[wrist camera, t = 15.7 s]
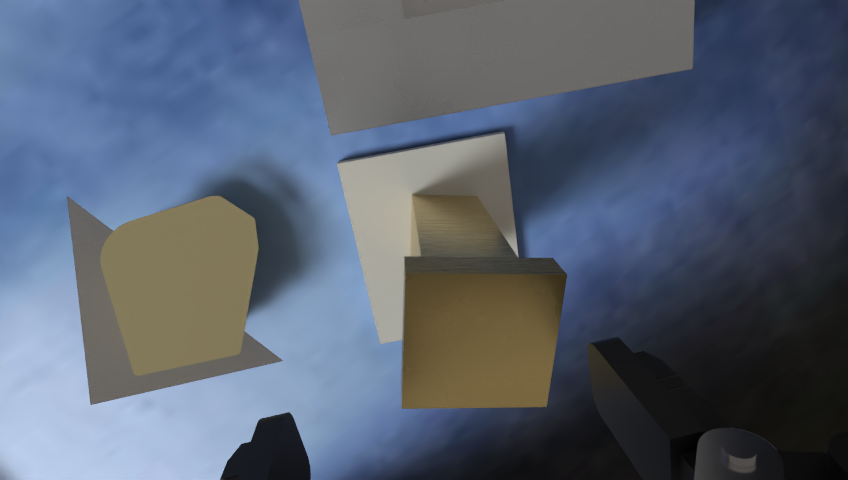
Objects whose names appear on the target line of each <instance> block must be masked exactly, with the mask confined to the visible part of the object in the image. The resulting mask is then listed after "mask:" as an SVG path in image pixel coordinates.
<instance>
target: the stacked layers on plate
mask: <svg viewBox="0 0 848 480" xmlns="http://www.w3.org/2000/svg"><path fill="white" fill-rule="evenodd" d="M67 200H68V209H69V218H70V227H71V235H72V244H73V253H74V262H75V271H76V279H77V288H78V297H79V306H80V315H81V324H82V332H83V341H84V350H85V359H86V368H87V377H88V385H89V394H90V403H91V405H92V404H97V403H101V402H105V401H110V400H114V399H118V398H123V397H127V396H131V395H136V394H140V393H145V392H149V391H153V390H158V389H162V388H166V387H171V386H175V385H180V384H184V383H188V382H193V381H197V380H201V379H206V378H210V377H214V376H219V375H223V374H228V373H232V372H236V371H241V370H245V369H249V368H254V367H258V366H263V365H267V364H271V363H276V362H280V361H283V360H281V359H280V358H279V357H277V356H276V355H275V354H274V353H272V352H271V351H270V350H268V349H267V348H266V347H264V346H263V345H262V344H260V343H259V342H258V341H256V340H255V339H254V338H253V337H251V336H250V335H249V334H247V333H246V332H245V331H244V330H245V324H246V318H247V313H248V307H249V301H250V296H251V290H252V284H253V279H254V273H255V267H256V262H257V256H258V250H259V246H258V239H257V231H256V223H255V219H254V217H252V216H251V215H249V214H247V213H246V212H244V211H243V210H241V209H240V208H238V207H237V206H235V205H233V204H232V203H230V202H229V201H227V200H226V199H224V198H223V197H221V196H209V197H206V198H203V199H199V200H196V201H193V202H190V203H187V204H183V205H180V206H177V207H174V208H171V209H168V210H164V211H161V212H158V213H155V214H152V215H149V216H145V217H142V218H139V219H136V220H133V221H130V222H127V223H125V224H123V225H121V226H120V227H118V228H117V229H116V230H114V231H112V230H111V229H110V228H108V227H107V226H106V225H104V224H103V223H102V222H101V221H99V220H98V219H97V218H95V217H94V216H93V215H91V214H90V213H89V212H87V211H86V210H85V209H83V208H82V207H81V206H80V205H78V204H77V203H76V202H74V201H73V200H72V199H70V198H69V197H68V196H67Z"/></svg>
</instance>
